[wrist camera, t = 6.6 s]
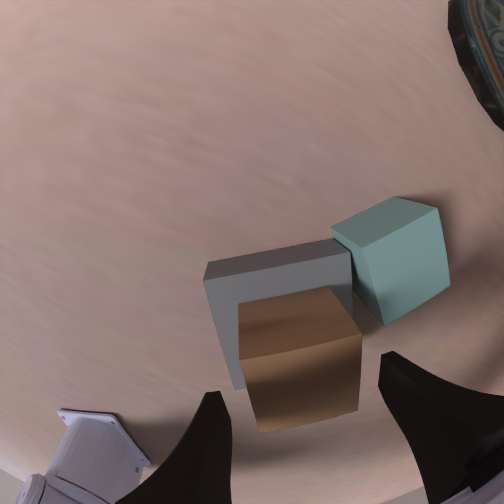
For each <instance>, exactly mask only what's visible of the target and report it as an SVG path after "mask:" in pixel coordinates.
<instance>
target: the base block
mask: <svg viewBox="0 0 504 504" xmlns="http://www.w3.org/2000/svg"><path fill="white" fill-rule="evenodd" d="M203 283H204V286H205V290H206V294H207V298H208V301H209V305H210V309H211V312H212V316H213V319H214V323H215V326H216V330H217V333H218V337H219V340H220V344H221V347H222V350H223V354H224V357H225V360H226V363H227V367H228V370H229V373H230V376H231V379H232V382H233V386H234V389H235V390H237V389H244V388H247V387H246V383H245V380H244V376H243V373H242V369H241V366H240V362H239V337H238V303H244V302H249V301H254V300H260V299H265V298H270V297H275V296H280V295H285V294H290V293H295V292H300V291H304V290H309V289H314V288H318V287H323V286H327V285H328V287H329V288H330V289H331V291H332V292H333V294H334V295H335V296H336V298H337V299H338V300H339V302H340V303H341V304H342V306H343V307H344V309H345V310H346V311H347V313H348V314H349V315H350V317H351V318H352V320H353V294H352V273H351V258H350V251H348V250H347V249H346V248H344V247H343V246H342V245H341V244H339V243H338V242H337V241H335V240H334V239H328V240H323V241H318V242H313V243H307V244H302V245H297V246H292V247H287V248H281V249H276V250H271V251H266V252H261V253H255V254H250V255H245V256H240V257H234V258H229V259H224V260H219V261H213V262H208V265H207V268H206V272H205V275H204V279H203Z"/></svg>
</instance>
